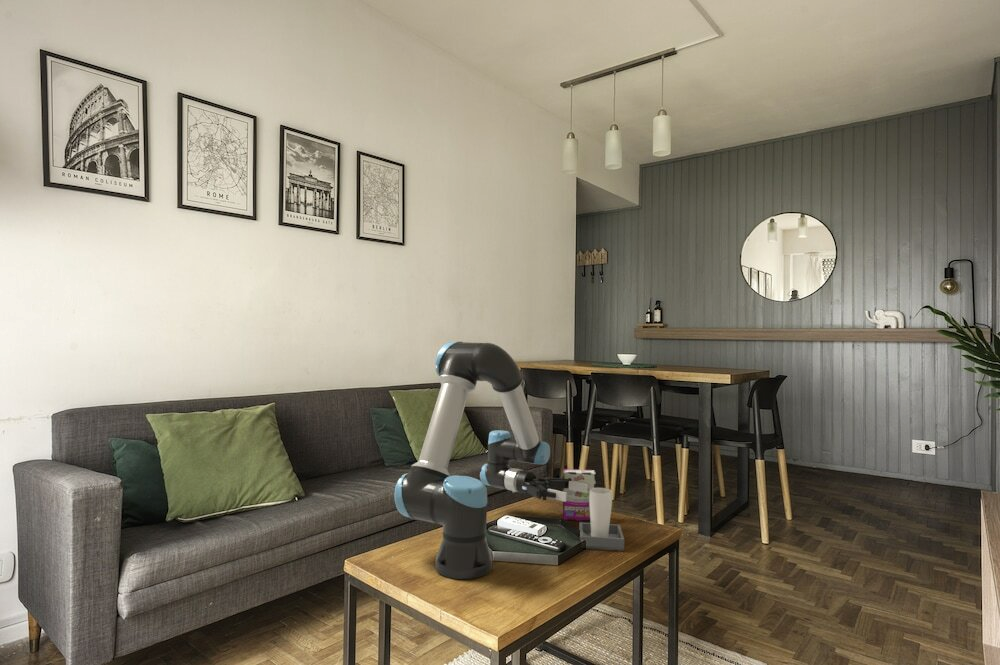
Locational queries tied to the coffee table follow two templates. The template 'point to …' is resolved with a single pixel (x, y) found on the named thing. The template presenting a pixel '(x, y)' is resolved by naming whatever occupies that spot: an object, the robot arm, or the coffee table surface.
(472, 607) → the coffee table surface
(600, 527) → the white cup
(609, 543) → the tray
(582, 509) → the candy bar box
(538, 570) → the coffee table surface
